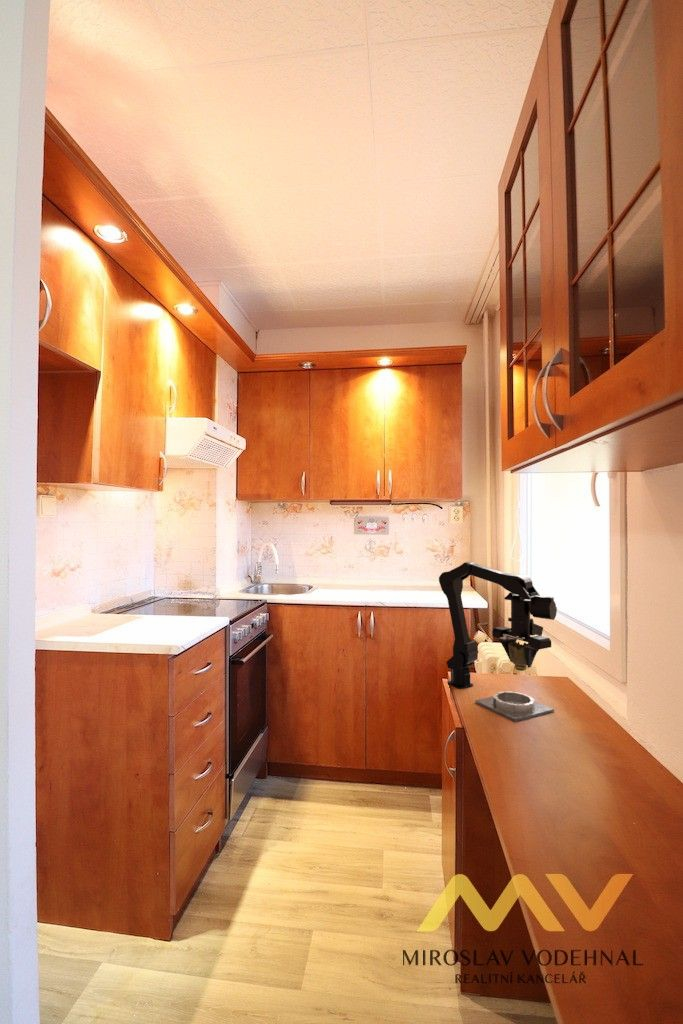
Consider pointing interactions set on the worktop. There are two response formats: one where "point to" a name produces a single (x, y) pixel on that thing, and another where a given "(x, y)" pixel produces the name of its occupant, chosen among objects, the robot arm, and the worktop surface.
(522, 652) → the cup
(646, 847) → the worktop surface
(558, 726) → the worktop surface
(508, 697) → the cup bracket
